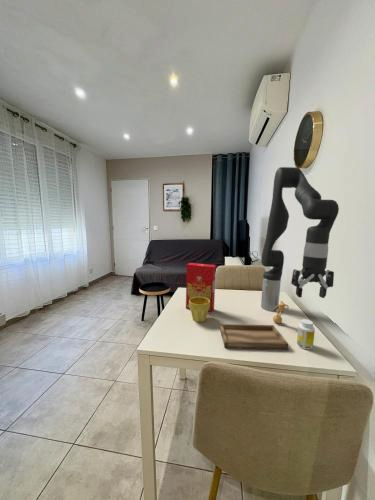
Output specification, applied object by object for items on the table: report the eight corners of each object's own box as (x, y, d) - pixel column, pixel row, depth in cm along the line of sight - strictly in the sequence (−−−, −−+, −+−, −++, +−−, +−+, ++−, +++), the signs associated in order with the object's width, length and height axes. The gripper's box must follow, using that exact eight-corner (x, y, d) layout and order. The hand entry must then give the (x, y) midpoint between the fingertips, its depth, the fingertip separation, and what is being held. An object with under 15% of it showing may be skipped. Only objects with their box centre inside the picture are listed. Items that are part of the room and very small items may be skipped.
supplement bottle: (314, 345, 80) (317, 321, 79) (310, 352, 76) (313, 326, 75) (298, 340, 84) (301, 316, 82) (294, 345, 80) (297, 321, 78)
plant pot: (185, 321, 97) (185, 302, 96) (192, 313, 107) (192, 295, 106) (206, 326, 94) (207, 306, 92) (211, 316, 103) (212, 298, 102)
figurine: (282, 320, 100) (284, 297, 99) (290, 326, 94) (292, 302, 93) (267, 321, 99) (268, 298, 98) (273, 327, 93) (275, 303, 92)
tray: (219, 329, 91) (219, 323, 91) (273, 330, 91) (273, 325, 91) (224, 348, 77) (225, 342, 77) (287, 349, 77) (288, 343, 77)
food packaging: (185, 308, 112) (186, 264, 109) (189, 305, 117) (190, 262, 114) (211, 313, 107) (213, 267, 104) (214, 309, 112) (215, 265, 109)
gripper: (327, 253, 78) (322, 293, 80) (290, 253, 78) (286, 293, 81) (342, 257, 71) (336, 301, 73) (301, 256, 71) (296, 300, 73)
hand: (310, 297), depth 77 cm, fingers open, 8 cm apart
